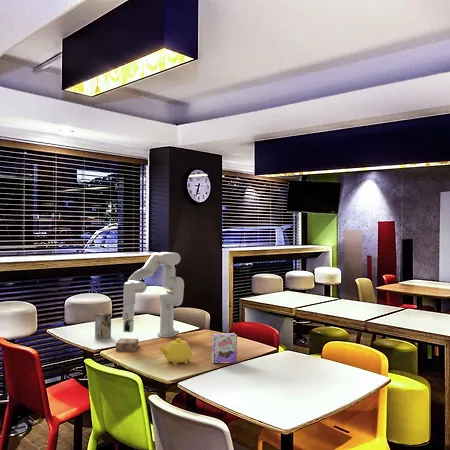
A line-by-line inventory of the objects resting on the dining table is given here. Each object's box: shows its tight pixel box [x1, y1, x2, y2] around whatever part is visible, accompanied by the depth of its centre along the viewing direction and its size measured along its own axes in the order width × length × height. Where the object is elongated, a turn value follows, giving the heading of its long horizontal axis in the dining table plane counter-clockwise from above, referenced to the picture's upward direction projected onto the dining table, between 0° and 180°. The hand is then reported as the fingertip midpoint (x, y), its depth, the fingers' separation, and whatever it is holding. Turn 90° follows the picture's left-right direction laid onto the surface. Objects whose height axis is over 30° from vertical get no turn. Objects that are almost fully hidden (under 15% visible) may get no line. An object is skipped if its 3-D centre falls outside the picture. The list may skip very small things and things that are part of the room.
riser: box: [115, 337, 139, 352], centre depth 291 cm, size 12×12×5 cm
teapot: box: [158, 337, 193, 365], centre depth 263 cm, size 20×16×14 cm
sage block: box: [122, 319, 135, 333], centre depth 292 cm, size 5×5×7 cm
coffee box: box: [94, 312, 112, 340], centre depth 318 cm, size 9×6×16 cm
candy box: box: [210, 332, 238, 363], centre depth 266 cm, size 14×6×16 cm, turn 105°
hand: (128, 329), depth 292 cm, fingers closed on sage block, 5 cm apart
